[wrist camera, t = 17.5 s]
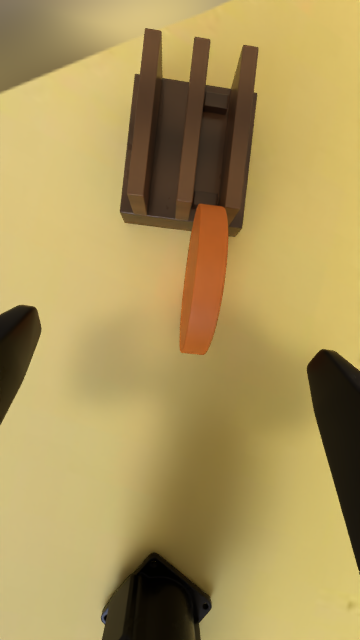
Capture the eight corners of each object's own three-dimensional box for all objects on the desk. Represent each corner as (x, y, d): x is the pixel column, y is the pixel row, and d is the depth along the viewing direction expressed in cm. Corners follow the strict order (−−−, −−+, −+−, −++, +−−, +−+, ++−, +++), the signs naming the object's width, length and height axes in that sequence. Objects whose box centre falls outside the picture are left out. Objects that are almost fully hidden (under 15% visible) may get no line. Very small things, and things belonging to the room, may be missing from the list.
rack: (235, 236, 21) (256, 211, 16) (124, 222, 20) (110, 191, 15) (248, 114, 20) (275, 49, 15) (138, 97, 20) (128, 24, 15)
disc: (194, 357, 20) (220, 351, 11) (176, 355, 20) (188, 347, 11) (204, 249, 21) (234, 167, 12) (187, 247, 21) (205, 163, 12)
